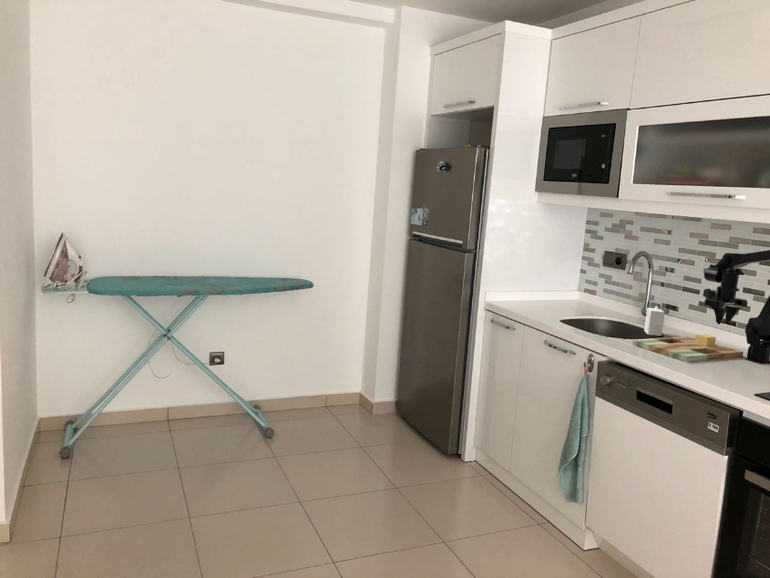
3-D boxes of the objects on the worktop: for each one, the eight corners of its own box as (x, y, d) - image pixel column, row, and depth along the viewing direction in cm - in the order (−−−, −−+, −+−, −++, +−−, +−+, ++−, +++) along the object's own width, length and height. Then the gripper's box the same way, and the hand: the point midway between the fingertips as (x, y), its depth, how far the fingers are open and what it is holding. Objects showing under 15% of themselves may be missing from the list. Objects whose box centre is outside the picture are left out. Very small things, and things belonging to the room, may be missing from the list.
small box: (661, 336, 265) (665, 312, 263) (647, 334, 266) (651, 310, 264) (657, 332, 272) (660, 308, 271) (643, 331, 273) (647, 307, 272)
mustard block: (714, 345, 244) (716, 337, 243) (706, 346, 242) (707, 337, 241) (703, 342, 248) (704, 334, 248) (694, 343, 246) (696, 334, 245)
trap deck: (742, 356, 238) (743, 351, 237) (686, 362, 223) (687, 356, 223) (687, 341, 259) (688, 336, 258) (632, 344, 244) (633, 339, 244)
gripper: (725, 281, 257) (719, 318, 259) (695, 281, 248) (689, 320, 251) (751, 286, 247) (744, 324, 249) (720, 286, 238) (714, 326, 241)
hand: (722, 323), depth 248 cm, fingers open, 5 cm apart
